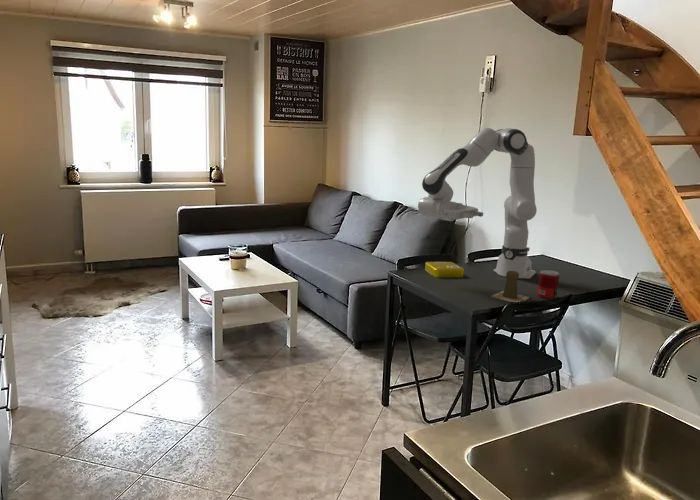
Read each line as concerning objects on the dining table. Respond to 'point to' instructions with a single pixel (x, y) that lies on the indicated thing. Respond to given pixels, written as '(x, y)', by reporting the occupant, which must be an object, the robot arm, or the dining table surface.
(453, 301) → the dining table surface
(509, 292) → the cork
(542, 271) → the canned food
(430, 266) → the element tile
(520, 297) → the coaster
